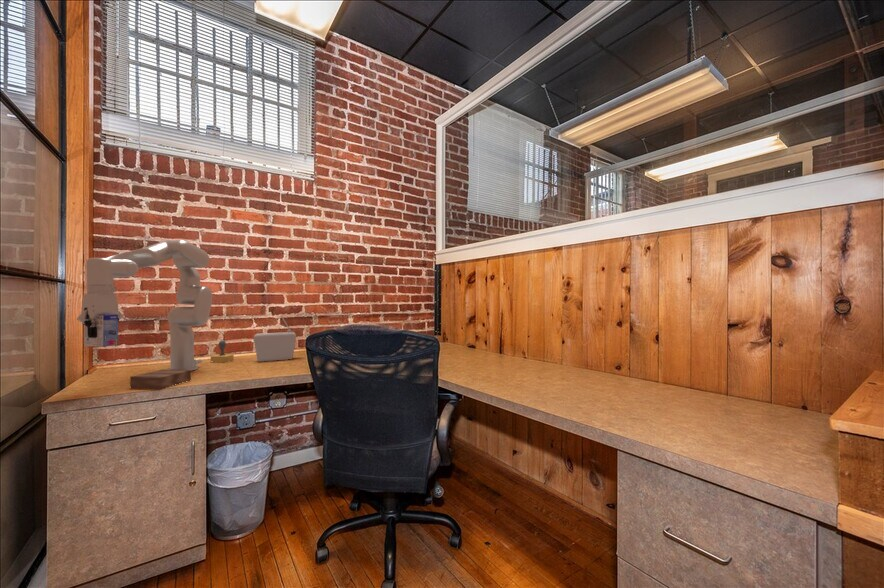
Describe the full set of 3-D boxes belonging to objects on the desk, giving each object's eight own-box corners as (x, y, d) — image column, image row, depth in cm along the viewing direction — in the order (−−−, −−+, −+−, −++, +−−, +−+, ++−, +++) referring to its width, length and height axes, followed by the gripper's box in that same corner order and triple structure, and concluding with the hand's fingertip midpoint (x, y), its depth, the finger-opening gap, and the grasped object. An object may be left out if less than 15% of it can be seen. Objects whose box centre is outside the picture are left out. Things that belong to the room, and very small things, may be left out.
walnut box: (162, 380, 155) (162, 369, 155) (190, 381, 153) (190, 370, 153) (130, 389, 142) (130, 376, 142) (160, 390, 140) (160, 377, 140)
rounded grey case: (295, 357, 212) (295, 315, 212) (296, 359, 204) (296, 316, 204) (254, 360, 202) (254, 316, 202) (253, 362, 194) (253, 317, 195)
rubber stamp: (233, 360, 201) (233, 339, 201) (227, 362, 196) (226, 341, 196) (217, 360, 202) (217, 339, 202) (210, 362, 196) (210, 341, 196)
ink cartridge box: (119, 344, 139) (118, 308, 138) (103, 347, 133) (102, 309, 133) (99, 344, 141) (98, 308, 140) (83, 346, 135) (82, 309, 135)
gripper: (116, 289, 146) (117, 333, 146) (65, 290, 129) (66, 339, 129) (131, 289, 144) (132, 333, 145) (82, 289, 127) (83, 339, 128)
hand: (101, 336), depth 137 cm, fingers closed on ink cartridge box, 5 cm apart
